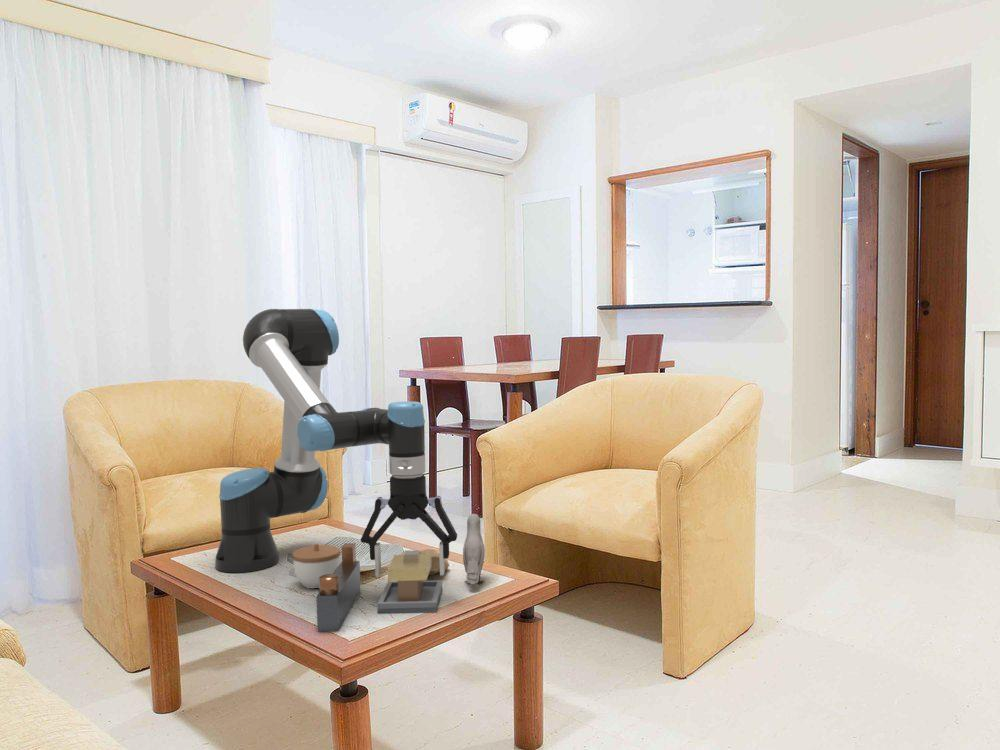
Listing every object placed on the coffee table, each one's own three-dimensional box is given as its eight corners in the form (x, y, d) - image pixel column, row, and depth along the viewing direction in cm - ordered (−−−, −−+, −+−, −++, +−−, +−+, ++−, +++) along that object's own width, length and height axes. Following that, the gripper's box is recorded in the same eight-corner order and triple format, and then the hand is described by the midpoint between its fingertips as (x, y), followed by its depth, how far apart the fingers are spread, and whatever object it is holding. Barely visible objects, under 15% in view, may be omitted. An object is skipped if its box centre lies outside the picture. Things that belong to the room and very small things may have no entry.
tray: (388, 590, 166) (387, 563, 166) (442, 589, 166) (441, 562, 166) (377, 613, 152) (376, 584, 152) (436, 612, 152) (435, 583, 152)
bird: (486, 573, 176) (484, 510, 176) (483, 592, 163) (482, 524, 162) (465, 573, 177) (464, 510, 176) (461, 592, 163) (459, 525, 162)
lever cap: (395, 566, 164) (394, 549, 163) (431, 565, 164) (431, 548, 163) (387, 581, 154) (387, 563, 153) (426, 580, 154) (426, 562, 153)
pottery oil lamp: (462, 572, 177) (461, 543, 177) (427, 586, 168) (426, 555, 168) (434, 566, 183) (434, 537, 182) (399, 579, 173) (399, 549, 173)
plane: (342, 592, 165) (340, 543, 164) (360, 592, 165) (358, 543, 164) (317, 631, 143) (315, 575, 143) (338, 631, 143) (336, 574, 142)
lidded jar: (351, 580, 173) (350, 540, 173) (319, 595, 164) (318, 553, 163) (315, 574, 178) (314, 535, 178) (283, 588, 169) (281, 547, 168)
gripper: (344, 479, 154) (348, 580, 155) (465, 477, 154) (468, 578, 155) (352, 472, 161) (355, 569, 163) (467, 470, 161) (469, 567, 162)
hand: (410, 574), depth 159 cm, fingers open, 13 cm apart
